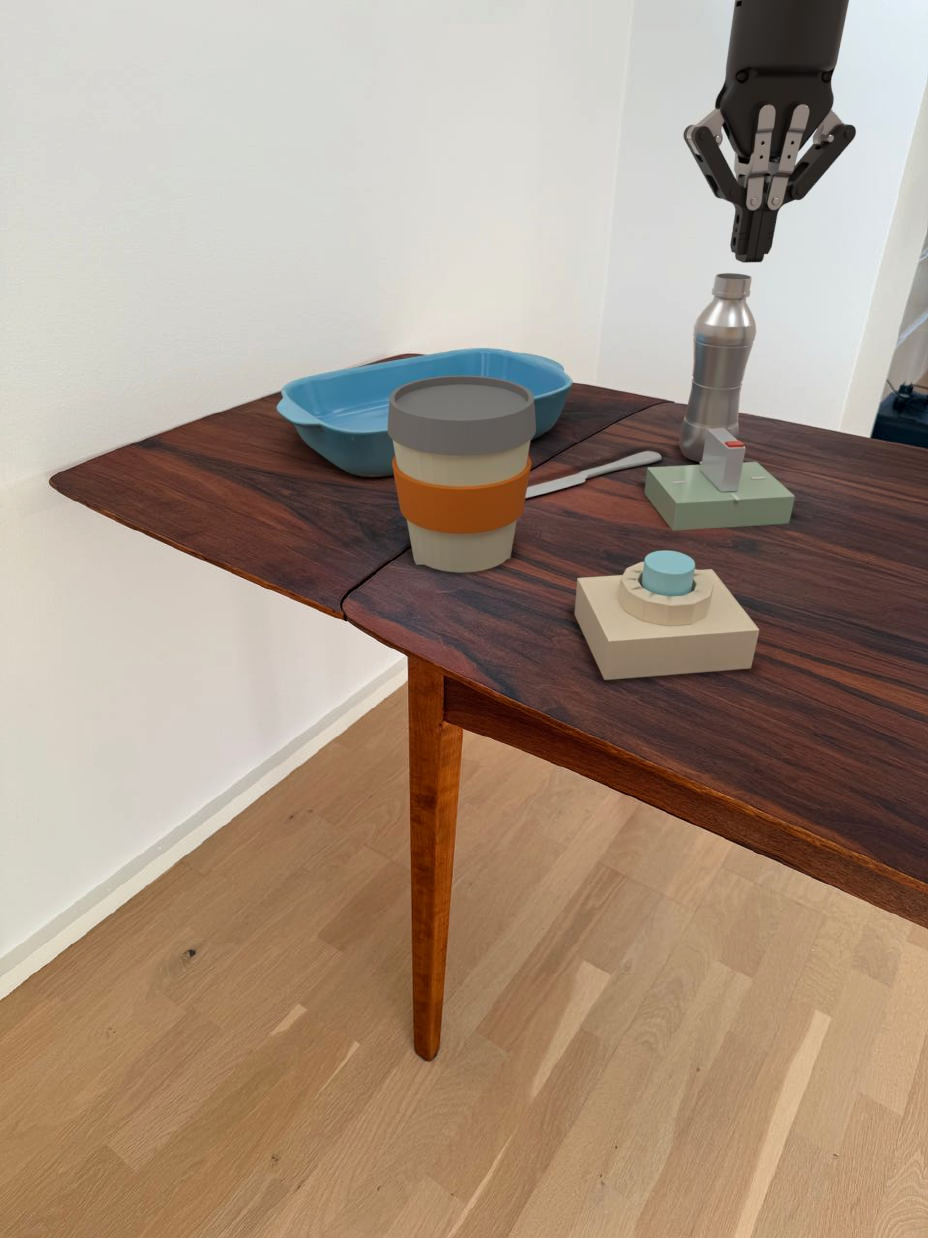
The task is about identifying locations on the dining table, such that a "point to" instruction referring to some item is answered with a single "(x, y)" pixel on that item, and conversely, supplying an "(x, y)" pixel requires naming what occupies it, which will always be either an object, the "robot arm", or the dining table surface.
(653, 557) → the light blue puck
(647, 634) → the beige button housing
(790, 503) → the panel
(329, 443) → the casserole dish
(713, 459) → the tap knob
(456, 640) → the dining table surface
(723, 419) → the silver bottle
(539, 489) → the butter knife
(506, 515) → the reusable coffee cup
